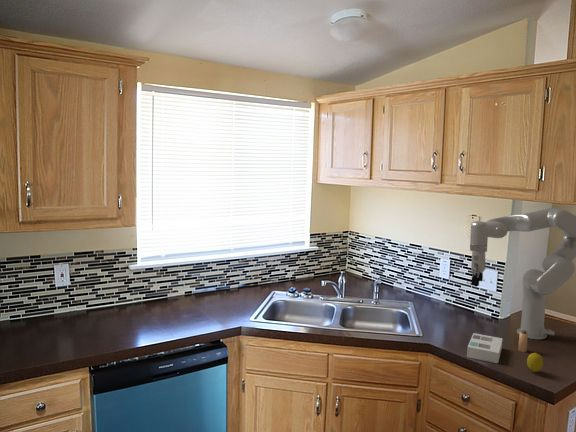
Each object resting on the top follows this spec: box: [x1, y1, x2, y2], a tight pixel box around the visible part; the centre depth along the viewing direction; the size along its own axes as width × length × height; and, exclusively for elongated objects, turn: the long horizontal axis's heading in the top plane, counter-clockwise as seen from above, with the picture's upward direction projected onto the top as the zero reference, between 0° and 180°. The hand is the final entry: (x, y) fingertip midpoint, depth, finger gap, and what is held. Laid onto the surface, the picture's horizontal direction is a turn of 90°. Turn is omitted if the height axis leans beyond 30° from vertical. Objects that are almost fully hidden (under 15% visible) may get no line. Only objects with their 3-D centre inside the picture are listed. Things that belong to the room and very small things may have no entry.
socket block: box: [466, 332, 503, 364], centre depth 196 cm, size 12×18×5 cm, turn 151°
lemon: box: [526, 352, 544, 373], centre depth 178 cm, size 6×6×8 cm
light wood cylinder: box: [517, 330, 529, 353], centre depth 198 cm, size 3×3×9 cm
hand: (477, 283), depth 217 cm, fingers open, 9 cm apart
